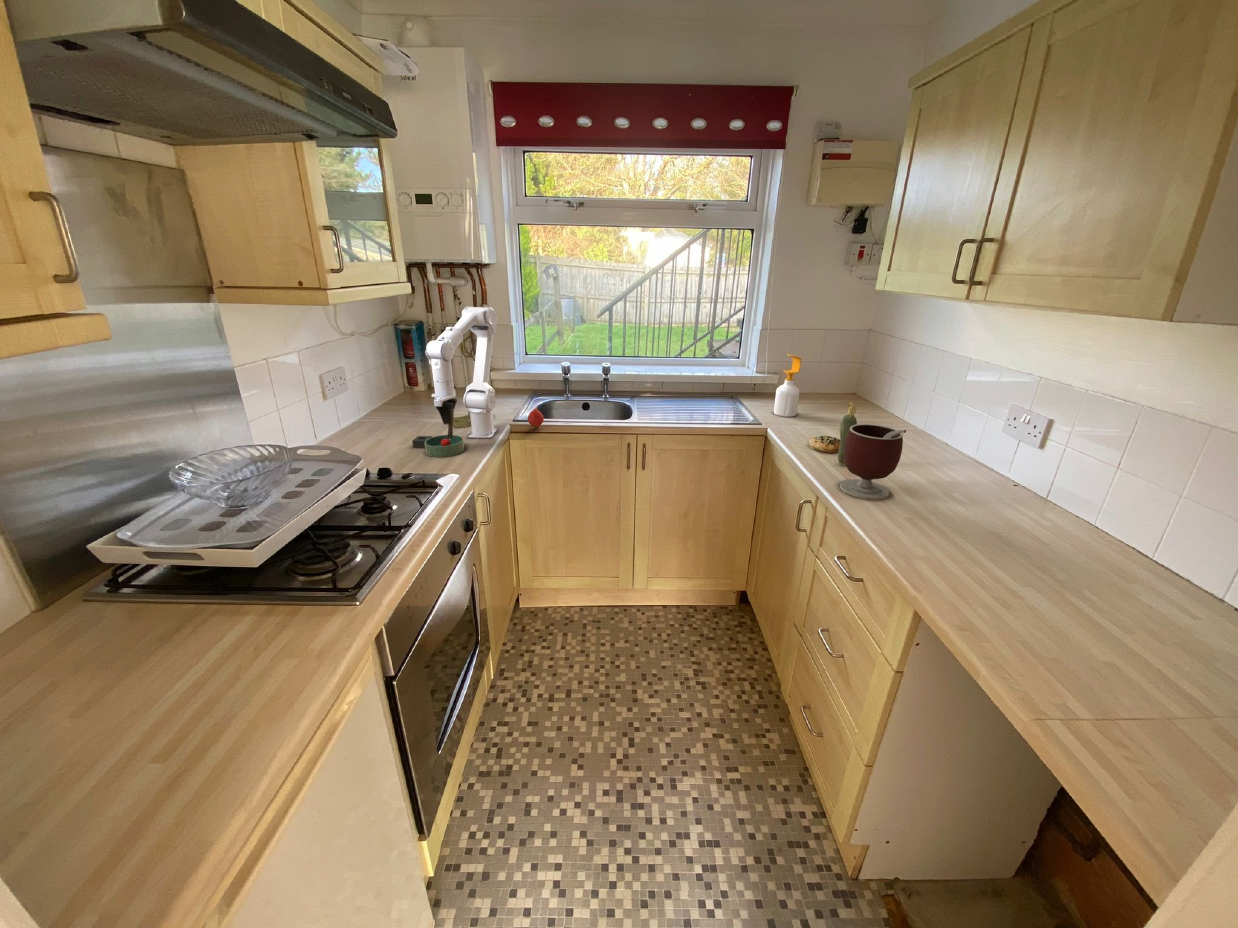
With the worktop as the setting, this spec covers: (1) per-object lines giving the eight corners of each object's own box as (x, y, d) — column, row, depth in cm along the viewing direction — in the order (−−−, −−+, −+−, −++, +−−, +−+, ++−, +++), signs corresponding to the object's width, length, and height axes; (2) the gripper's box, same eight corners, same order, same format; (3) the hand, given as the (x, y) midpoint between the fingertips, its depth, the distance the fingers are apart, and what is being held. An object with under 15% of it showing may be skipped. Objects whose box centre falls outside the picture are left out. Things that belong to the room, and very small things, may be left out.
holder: (418, 442, 174) (417, 435, 173) (433, 443, 174) (432, 436, 173) (413, 447, 169) (412, 440, 168) (428, 447, 169) (427, 440, 168)
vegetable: (850, 468, 155) (862, 405, 148) (835, 467, 156) (846, 404, 148) (846, 463, 159) (858, 401, 152) (832, 462, 160) (843, 400, 152)
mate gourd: (825, 483, 144) (837, 415, 137) (863, 477, 149) (877, 411, 141) (868, 506, 131) (884, 432, 123) (908, 498, 135) (926, 427, 128)
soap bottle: (768, 412, 213) (776, 353, 204) (785, 410, 217) (793, 352, 208) (783, 418, 206) (792, 357, 197) (801, 415, 209) (809, 355, 200)
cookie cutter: (474, 413, 208) (473, 408, 208) (497, 417, 203) (497, 412, 203) (442, 424, 193) (441, 419, 192) (466, 429, 188) (466, 424, 188)
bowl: (433, 444, 172) (431, 434, 171) (468, 444, 172) (467, 435, 171) (420, 457, 161) (418, 446, 160) (458, 457, 161) (456, 446, 160)
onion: (525, 429, 189) (523, 408, 186) (534, 425, 194) (533, 404, 191) (537, 431, 186) (536, 410, 183) (547, 427, 191) (546, 406, 188)
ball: (443, 446, 169) (442, 437, 168) (452, 446, 169) (451, 437, 168) (440, 449, 166) (439, 440, 165) (449, 449, 166) (448, 440, 165)
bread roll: (846, 445, 174) (847, 432, 171) (838, 459, 166) (839, 445, 163) (812, 441, 180) (813, 428, 177) (803, 453, 172) (804, 440, 169)
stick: (448, 437, 164) (450, 408, 161) (452, 438, 164) (454, 409, 161) (447, 439, 163) (448, 409, 159) (451, 439, 163) (453, 410, 160)
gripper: (438, 375, 164) (443, 416, 169) (421, 385, 150) (427, 429, 155) (460, 375, 164) (464, 416, 169) (445, 385, 150) (450, 429, 155)
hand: (448, 422), depth 162 cm, fingers closed on stick, 1 cm apart
